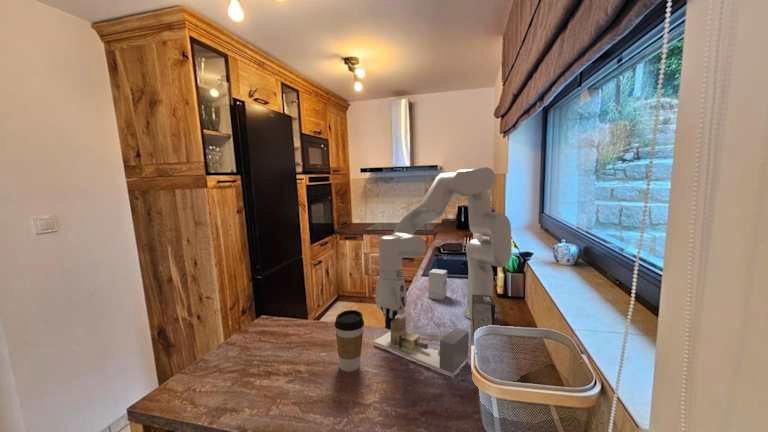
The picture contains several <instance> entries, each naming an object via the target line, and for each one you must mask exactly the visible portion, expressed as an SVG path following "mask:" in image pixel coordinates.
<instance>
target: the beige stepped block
mask: <svg viewBox="0 0 768 432" xmlns="http://www.w3.org/2000/svg"><path fill="white" fill-rule="evenodd" d="M406 317H407V316H405V315H403V314H402V315H400V316H398V317H395V319H394V320H392V321H391V329H390V331H391V344H393V345H395V344H397V345H399V348H400V349H401V346H402V347H405V348H407V349H410V350H413V349H414V348H416V347H417V346H418V347H421V348H424V349H426V350H427V349H428V344H426V343H427V342H426V343H423V342H424V341H423V342H421V341H422V340H421V335H420V334H417V333H414V332H411V331H408V330H406V326H407V325H406V323H407V322H406V320H407V318H406ZM420 340H421V341H420Z"/></svg>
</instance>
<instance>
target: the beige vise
mask: <svg viewBox="0 0 768 432" xmlns="http://www.w3.org/2000/svg"><path fill="white" fill-rule="evenodd" d="M469 333H470V331H469V330H465V329H462V328H459V327H455V328H453V329H452V330H450V332H448V333H447V334H446V335H444V336H443V337H442V338H441V339H440V340H439V347H440V348H439V350H434V349H431V348H430V349H427V350H426V349H424V348H421V347H418V346H417V347H416V348H414V349H413V350H410V349H407V348H405V347H402V346H401V349H400V348H399V345H397V344H395V345H393V344H391V330H389V331H388V332H387V333H385V334H384V335H382V336H380V337H378V338H377V339H374V340H373V344H374V343H375V344H377V345H380V346H382V347H385V348H387V349H390V350H392V351H394V352H397V353H399V354H402V355H404V356H406V357H409V358H411V359H414V360H416V361H418V362H420V363H423V364H425V365H428V366H430V367H432V368H435V369H437V370H439V371H441V372H443V373H446V374H448V375H450V376H454V374H455V373H456V372H457V371H458V370H459V368H460V367H461V365H462V364H463V363H464V362H465V361H466V359H467V358H468V359H469Z"/></svg>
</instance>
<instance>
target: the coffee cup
mask: <svg viewBox="0 0 768 432" xmlns="http://www.w3.org/2000/svg"><path fill="white" fill-rule="evenodd" d="M364 326H365V320H364V318H363V313H362V311H359V310H356V309H351V310H350V309H348V310H344V311H342V312H340V313H338V314H337V315H336V318H335V322H334V328H336V329H335V330H336V331H335V338H336V346H337V356H338V367H339V369H340V370H341V371H343V372H354V371H356V370H358V369H359V368H360V366H361V355H362V354H361V353H362V346H363V345H362V344H363V335H364V331H363V328H364Z"/></svg>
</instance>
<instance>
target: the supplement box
mask: <svg viewBox="0 0 768 432" xmlns="http://www.w3.org/2000/svg"><path fill="white" fill-rule="evenodd" d="M427 281H428V284H427V285H428V287H427V288H428V290H427V292H428V293H427V298H428V299H433V300H437V301H438V300H439V301H443V300H444V299H445V298H446V297H447V290H448V289H447V288H448V287H447V286H448V269H447V270H446V269H439V268H432V269H431V270H430V271H429V272H428V280H427Z"/></svg>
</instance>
